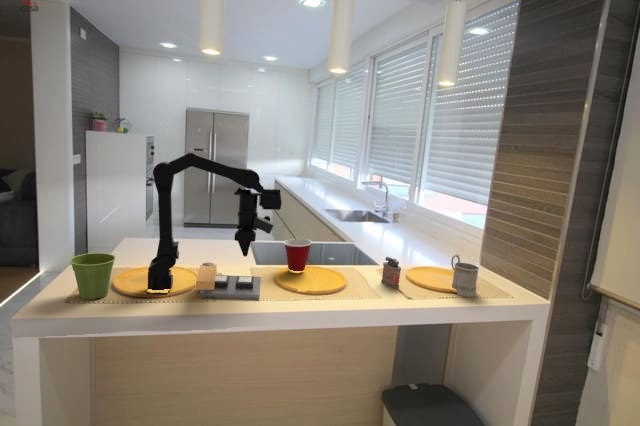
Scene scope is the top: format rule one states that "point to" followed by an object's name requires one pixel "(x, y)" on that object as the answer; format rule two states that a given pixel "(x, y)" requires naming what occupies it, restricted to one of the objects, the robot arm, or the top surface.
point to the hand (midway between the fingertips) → (245, 256)
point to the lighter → (391, 273)
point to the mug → (464, 278)
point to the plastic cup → (297, 253)
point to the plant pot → (93, 274)
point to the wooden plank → (206, 277)
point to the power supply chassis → (234, 287)
